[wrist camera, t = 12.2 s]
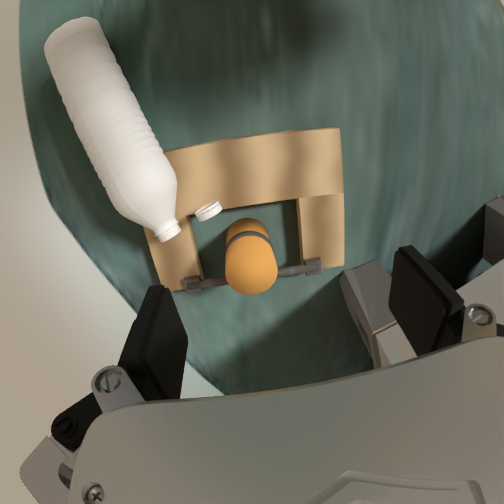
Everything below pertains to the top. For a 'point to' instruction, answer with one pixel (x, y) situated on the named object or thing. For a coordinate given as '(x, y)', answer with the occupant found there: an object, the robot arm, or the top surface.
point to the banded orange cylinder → (249, 257)
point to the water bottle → (115, 128)
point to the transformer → (378, 289)
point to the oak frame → (257, 197)
